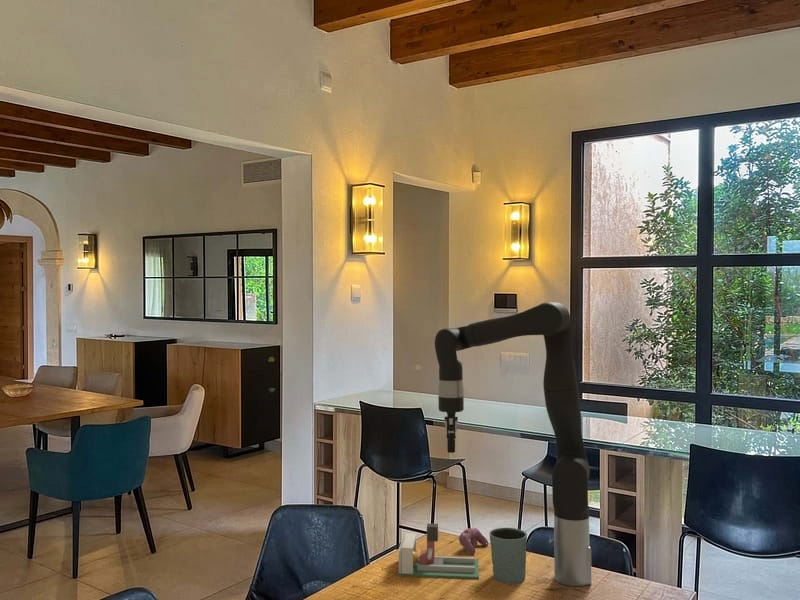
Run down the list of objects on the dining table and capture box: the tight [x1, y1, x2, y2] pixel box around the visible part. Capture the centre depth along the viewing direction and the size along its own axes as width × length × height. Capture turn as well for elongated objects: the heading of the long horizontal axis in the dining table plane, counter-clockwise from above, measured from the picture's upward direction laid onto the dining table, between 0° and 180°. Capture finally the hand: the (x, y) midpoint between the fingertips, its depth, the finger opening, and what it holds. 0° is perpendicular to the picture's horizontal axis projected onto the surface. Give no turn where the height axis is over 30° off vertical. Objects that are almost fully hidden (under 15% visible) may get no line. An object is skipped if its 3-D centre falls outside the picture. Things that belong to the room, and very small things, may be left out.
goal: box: [398, 532, 417, 574], centre depth 186 cm, size 4×12×7 cm, turn 174°
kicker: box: [419, 523, 444, 565], centre depth 186 cm, size 6×14×11 cm, turn 174°
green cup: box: [489, 527, 528, 585], centre depth 179 cm, size 10×10×12 cm
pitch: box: [397, 555, 480, 580], centre depth 185 cm, size 22×13×2 cm, turn 84°
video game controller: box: [458, 527, 489, 555], centre depth 201 cm, size 10×5×7 cm, turn 145°
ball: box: [413, 551, 419, 565], centre depth 186 cm, size 4×4×4 cm
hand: (451, 449), depth 196 cm, fingers open, 8 cm apart
